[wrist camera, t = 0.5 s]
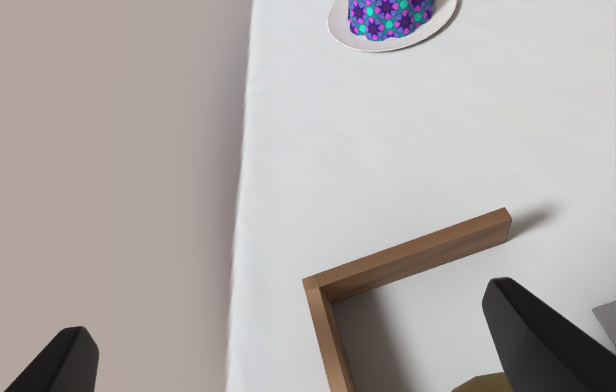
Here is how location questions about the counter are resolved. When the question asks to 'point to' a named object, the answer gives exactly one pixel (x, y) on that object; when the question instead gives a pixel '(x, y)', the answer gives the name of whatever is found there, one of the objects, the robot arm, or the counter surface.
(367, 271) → the wooden u-shaped frame
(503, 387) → the cork
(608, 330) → the grey mat
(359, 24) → the patterned hat
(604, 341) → the counter surface
